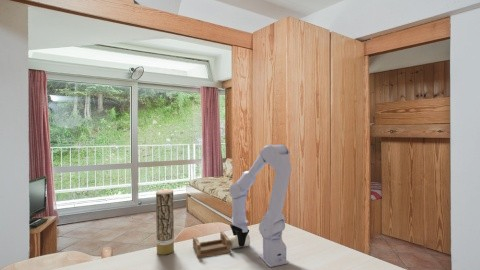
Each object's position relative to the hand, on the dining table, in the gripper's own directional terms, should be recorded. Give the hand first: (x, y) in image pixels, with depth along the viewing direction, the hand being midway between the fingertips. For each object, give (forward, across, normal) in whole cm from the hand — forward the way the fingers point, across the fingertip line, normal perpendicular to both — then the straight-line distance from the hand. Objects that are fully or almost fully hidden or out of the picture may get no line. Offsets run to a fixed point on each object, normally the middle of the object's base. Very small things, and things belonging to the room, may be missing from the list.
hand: (239, 243), depth 111 cm
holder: (+1, +2, +12) cm, 12 cm away
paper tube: (+2, +7, +30) cm, 31 cm away
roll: (+1, 0, 0) cm, 1 cm away
